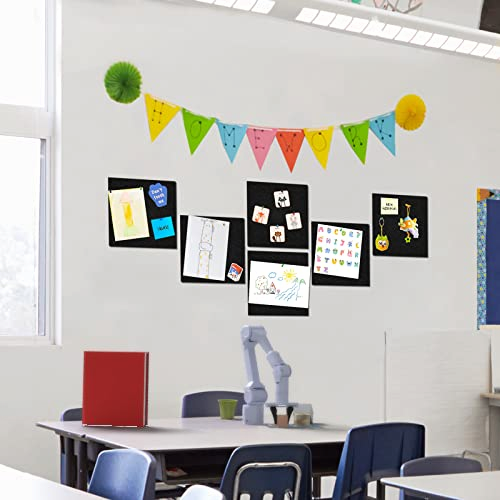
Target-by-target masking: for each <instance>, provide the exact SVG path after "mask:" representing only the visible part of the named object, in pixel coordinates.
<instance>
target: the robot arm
mask: <svg viewBox="0 0 500 500" xmlns="http://www.w3.org/2000/svg"><path fill="white" fill-rule="evenodd" d="M267 333H268V332H267V330H266V328H265V327H264V326H263V325H262V324H258V325H248V324H245V325H243V327H242V328H241V330H240V339H241V348H242V354H243V360H244V361H243V362H244V369H245V374H246V379H247V384H246V385H245V387H243V390H244V391H243V400H244V402H245V403H246V404H243V405H242V409H241V410H242V412H241V413H242V414H241V415H242V417H241V420H242V422H241V423H242V424H243V425H244V426H245V425H246V426H251V425H252V426H256V425H258V426H261V425H262V426H263V425H264V426H265V424H266V423H265V422H264V421H265V420H264V419H265V416H264V415H265V414H264V413H265V410H264V409H265V408H269V411H270V412H271V415H272V417H273V419H272V420H273V424H277V415H278V408H285V412H286V414H285V415H287V416H288V424H290V420H291V417H292V415H293V410H294V407H299V404H300V403H299V402H289V388H290V387H289V386H290V385H289V383H290V382H289V378H290V377H291V375H292V373H293V372H292V367H291V366H290V365H289V364H288V363H286V362H285V361H284V360H283V358H282V356H281V354H280V352H279V351H276V350H274V348H273V346H272V344H271V342H270V340H269V339H268V337H267ZM258 344H259V346H260V347H261V349H262V350H263V351H264V352H265V353H266V354H265V355H266V360H267V362H268V363H269V366H270V367H271V368H272V375H273V379H274V383H275V386H274V387H275V389H274V390H275V392H274V396H275V398H274V401H275V402H267V401H268V399H269V398H268V397H269V394H268V391H267V390H266V386H265V384H263V383H262V382H261V379H260V373H259V368H258V363H257V362H258V361H257V356H256V349H255V347H256V345H258Z"/></svg>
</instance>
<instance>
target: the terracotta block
mask: <svg viewBox="0 0 500 500" xmlns="http://www.w3.org/2000/svg"><path fill="white" fill-rule="evenodd" d="M275 426H276V427H288V416H287V415H286V414H277V424H275Z"/></svg>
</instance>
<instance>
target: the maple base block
mask: <svg viewBox="0 0 500 500" xmlns="http://www.w3.org/2000/svg"><path fill="white" fill-rule="evenodd" d="M293 424H294V425H295V426H310V424H311V423H310V415H309V414H294V416H293Z"/></svg>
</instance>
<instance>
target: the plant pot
mask: <svg viewBox="0 0 500 500" xmlns="http://www.w3.org/2000/svg"><path fill="white" fill-rule="evenodd" d="M217 401H218V405H219V412H220V419H221V420H234V419H235V413H236V407H237V403H238V402H239V400H238V399H217Z"/></svg>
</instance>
